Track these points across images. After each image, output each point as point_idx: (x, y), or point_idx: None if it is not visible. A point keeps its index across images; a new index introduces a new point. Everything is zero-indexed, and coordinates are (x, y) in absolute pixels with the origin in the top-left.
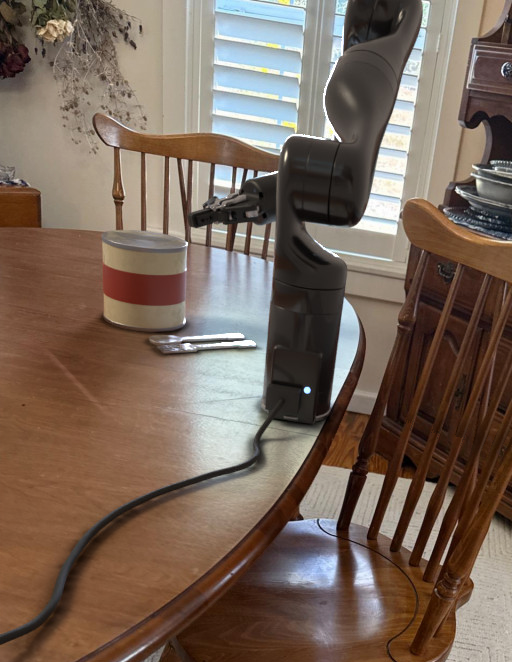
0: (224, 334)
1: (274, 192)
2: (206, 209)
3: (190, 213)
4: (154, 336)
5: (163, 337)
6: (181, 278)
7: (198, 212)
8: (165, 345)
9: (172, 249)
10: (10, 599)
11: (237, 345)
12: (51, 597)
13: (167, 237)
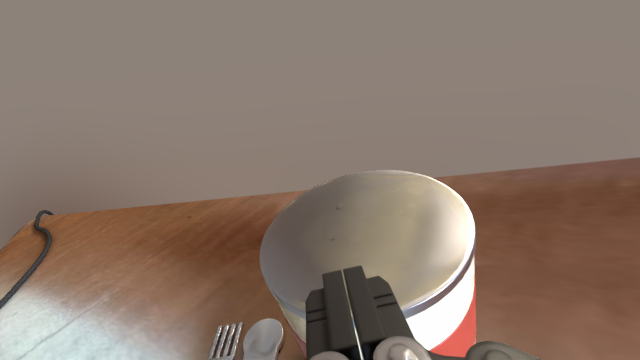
0: None
1: None
2: (352, 333)
3: (348, 269)
4: (277, 328)
5: (268, 341)
6: (298, 341)
7: (330, 292)
8: (237, 335)
9: (260, 265)
10: (57, 220)
11: None
12: (38, 226)
13: (397, 273)
